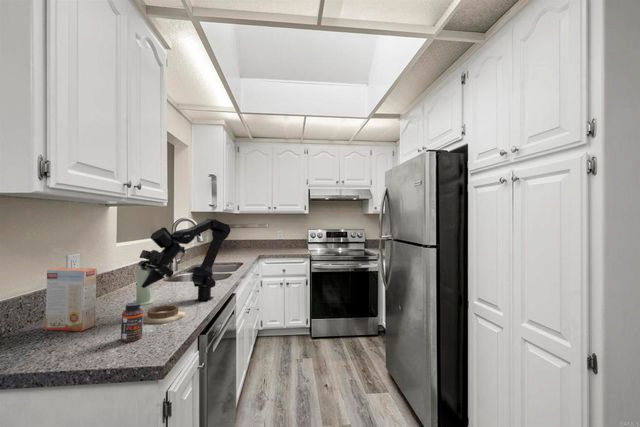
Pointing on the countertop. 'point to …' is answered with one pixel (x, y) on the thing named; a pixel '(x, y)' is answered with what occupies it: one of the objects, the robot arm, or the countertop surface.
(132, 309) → the supplement bottle
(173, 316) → the locating collar
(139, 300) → the flanged peg
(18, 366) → the countertop surface
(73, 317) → the cracker box
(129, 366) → the countertop surface
